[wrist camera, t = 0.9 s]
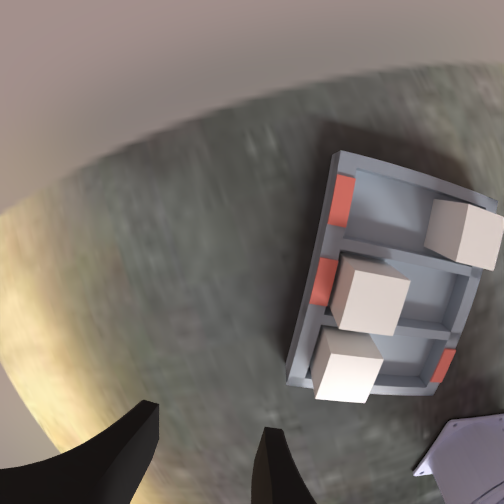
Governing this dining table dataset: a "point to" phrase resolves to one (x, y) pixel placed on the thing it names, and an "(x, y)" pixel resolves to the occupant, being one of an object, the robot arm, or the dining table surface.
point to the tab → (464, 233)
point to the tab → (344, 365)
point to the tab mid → (367, 295)
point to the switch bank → (399, 257)
